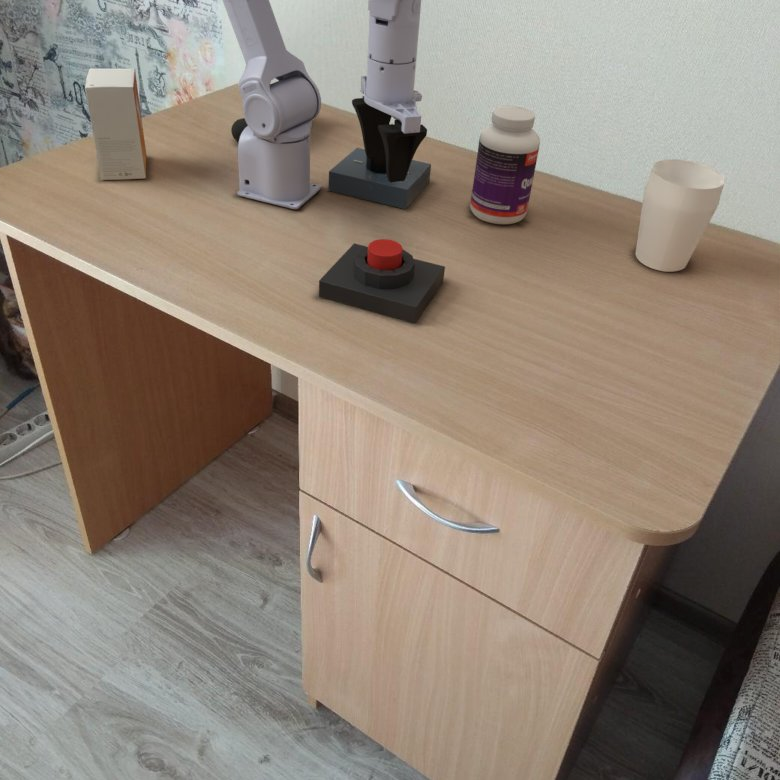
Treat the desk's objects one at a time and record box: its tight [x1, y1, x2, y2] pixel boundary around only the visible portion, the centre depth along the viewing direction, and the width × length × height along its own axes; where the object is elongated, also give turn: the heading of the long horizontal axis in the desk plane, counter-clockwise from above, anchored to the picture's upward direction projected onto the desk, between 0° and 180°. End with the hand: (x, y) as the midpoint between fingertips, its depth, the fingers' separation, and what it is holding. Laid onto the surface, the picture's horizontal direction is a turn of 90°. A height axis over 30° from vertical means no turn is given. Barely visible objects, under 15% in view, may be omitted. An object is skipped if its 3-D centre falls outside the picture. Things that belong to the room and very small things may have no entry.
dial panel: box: [328, 147, 432, 210], centre depth 113 cm, size 12×10×3 cm
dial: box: [366, 149, 386, 173], centre depth 111 cm, size 4×4×4 cm
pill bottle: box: [469, 105, 541, 225], centre depth 105 cm, size 8×8×14 cm
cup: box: [635, 158, 726, 273], centre depth 99 cm, size 9×9×12 cm
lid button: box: [367, 238, 404, 270], centre depth 90 cm, size 4×4×2 cm
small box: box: [84, 67, 147, 181], centre depth 109 cm, size 8×6×13 cm
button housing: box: [318, 242, 446, 324], centre depth 91 cm, size 12×10×4 cm
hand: (385, 168), depth 99 cm, fingers open, 7 cm apart
